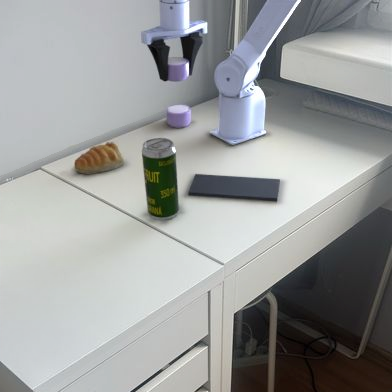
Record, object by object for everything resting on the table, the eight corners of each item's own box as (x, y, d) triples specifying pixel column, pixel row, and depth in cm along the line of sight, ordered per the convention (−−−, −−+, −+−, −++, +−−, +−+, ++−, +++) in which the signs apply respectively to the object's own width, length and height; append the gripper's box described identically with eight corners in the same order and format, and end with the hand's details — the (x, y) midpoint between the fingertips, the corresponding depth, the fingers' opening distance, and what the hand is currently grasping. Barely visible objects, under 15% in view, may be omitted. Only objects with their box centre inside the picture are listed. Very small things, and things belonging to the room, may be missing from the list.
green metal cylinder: (162, 202, 90) (157, 134, 81) (185, 211, 87) (182, 142, 79) (141, 214, 87) (133, 145, 78) (164, 225, 84) (158, 154, 76)
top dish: (179, 71, 109) (179, 55, 107) (194, 79, 106) (194, 62, 104) (157, 76, 107) (156, 59, 105) (172, 84, 104) (171, 67, 101)
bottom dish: (182, 117, 117) (181, 102, 115) (196, 124, 114) (195, 109, 112) (161, 123, 115) (160, 108, 113) (175, 130, 112) (174, 115, 109)
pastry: (86, 180, 96) (82, 160, 94) (69, 168, 100) (64, 149, 97) (127, 165, 100) (124, 146, 98) (109, 154, 104) (106, 136, 101)
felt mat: (188, 195, 91) (187, 192, 91) (195, 176, 96) (195, 173, 96) (277, 201, 89) (277, 198, 88) (279, 182, 94) (280, 179, 93)
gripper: (193, -9, 102) (193, 65, 112) (130, 1, 96) (136, 78, 106) (214, -2, 98) (212, 74, 108) (150, 8, 92) (154, 88, 102)
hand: (176, 77), depth 106 cm, fingers closed on top dish, 5 cm apart
